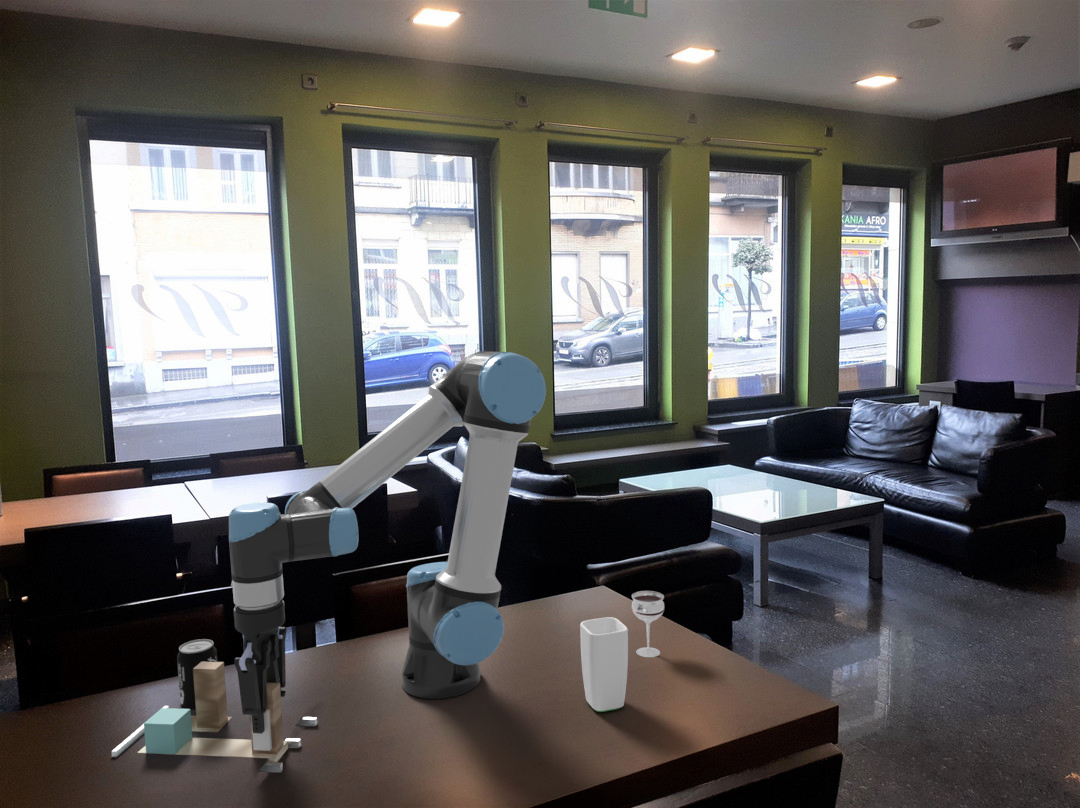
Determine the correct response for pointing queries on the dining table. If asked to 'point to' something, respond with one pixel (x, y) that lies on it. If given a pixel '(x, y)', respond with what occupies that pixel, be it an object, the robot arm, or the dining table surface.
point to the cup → (604, 662)
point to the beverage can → (187, 661)
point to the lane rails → (265, 768)
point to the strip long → (240, 745)
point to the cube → (168, 730)
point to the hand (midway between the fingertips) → (267, 742)
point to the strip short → (209, 697)
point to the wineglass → (648, 615)
